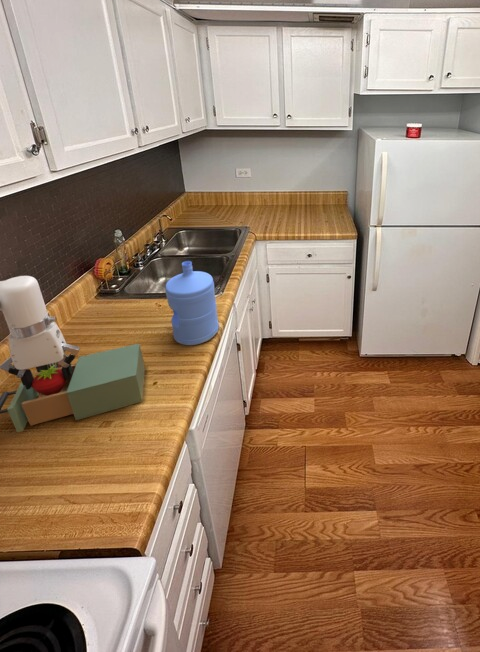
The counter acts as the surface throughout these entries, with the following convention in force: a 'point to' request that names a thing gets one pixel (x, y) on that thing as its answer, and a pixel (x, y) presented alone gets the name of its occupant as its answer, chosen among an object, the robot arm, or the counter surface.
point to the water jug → (192, 306)
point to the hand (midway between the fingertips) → (49, 380)
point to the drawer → (36, 405)
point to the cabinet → (107, 381)
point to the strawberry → (49, 381)
